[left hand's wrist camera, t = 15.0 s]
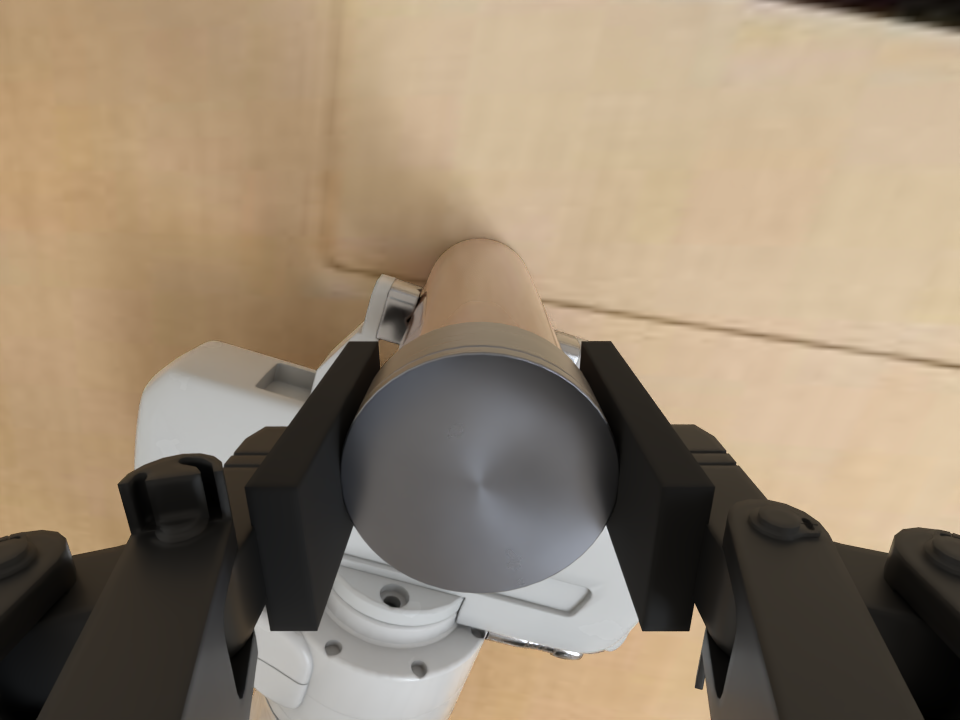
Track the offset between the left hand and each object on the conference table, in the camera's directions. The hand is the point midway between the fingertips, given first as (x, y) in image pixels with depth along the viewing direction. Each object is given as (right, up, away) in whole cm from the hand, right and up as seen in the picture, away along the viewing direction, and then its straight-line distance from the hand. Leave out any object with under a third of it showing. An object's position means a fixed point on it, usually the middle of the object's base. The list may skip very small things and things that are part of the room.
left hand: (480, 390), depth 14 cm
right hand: (0, +2, +4) cm, 5 cm away
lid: (0, -1, -4) cm, 4 cm away
